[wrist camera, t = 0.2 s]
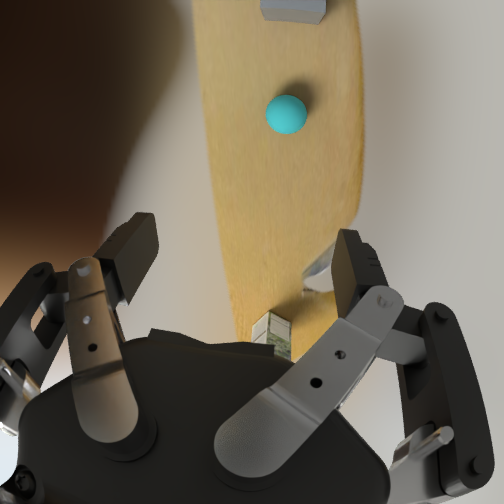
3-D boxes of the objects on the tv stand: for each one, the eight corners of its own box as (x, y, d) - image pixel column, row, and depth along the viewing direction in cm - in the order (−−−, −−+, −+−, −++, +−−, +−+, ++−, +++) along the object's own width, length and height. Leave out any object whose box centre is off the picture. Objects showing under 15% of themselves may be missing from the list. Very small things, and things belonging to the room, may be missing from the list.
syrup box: (252, 325, 57) (243, 387, 45) (269, 309, 54) (263, 374, 42) (274, 336, 59) (270, 397, 47) (292, 321, 56) (291, 385, 44)
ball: (267, 92, 33) (265, 94, 29) (307, 95, 33) (310, 98, 29) (266, 128, 36) (263, 135, 32) (303, 131, 36) (306, 139, 32)
